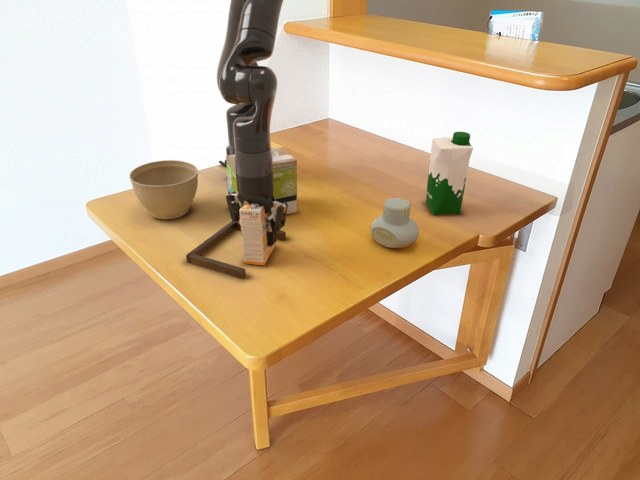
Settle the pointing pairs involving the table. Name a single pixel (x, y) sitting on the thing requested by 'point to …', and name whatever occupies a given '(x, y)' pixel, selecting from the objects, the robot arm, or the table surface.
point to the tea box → (282, 178)
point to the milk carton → (448, 173)
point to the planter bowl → (165, 187)
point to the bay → (197, 253)
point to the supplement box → (254, 234)
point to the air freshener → (395, 225)
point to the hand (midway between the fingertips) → (259, 241)
